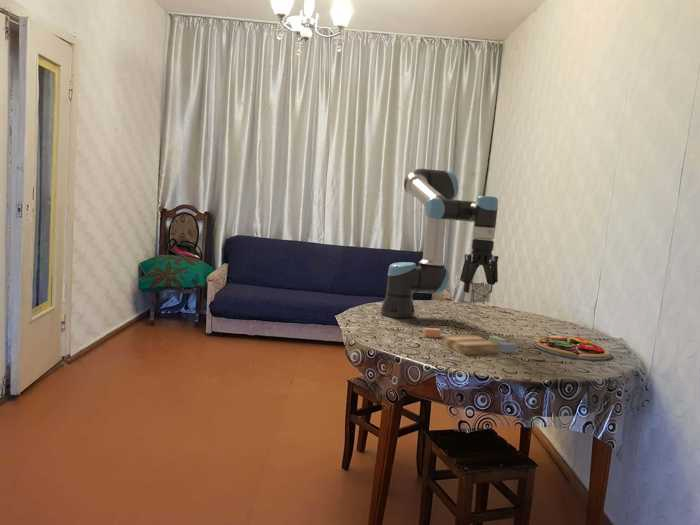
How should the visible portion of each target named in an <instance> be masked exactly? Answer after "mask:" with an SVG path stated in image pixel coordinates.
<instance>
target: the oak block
mask: <svg viewBox="0 0 700 525" xmlns="http://www.w3.org/2000/svg"><path fill="white" fill-rule="evenodd" d="M440 342H441V345H442V344H443V345H442V346H445V347H447V348H449V349H451V350H453V349H454V350H453V351H455V350H456V352H458V353H460V354H462V353H463V354H462V355H464V354H468V355H485V354H486V355H487V354H488V355H490V354H498V345H497V344H495V343H492V342H490V341H488V340H487V339H485V338H482V337H480V336H478V335H475V334H465V335H461V334H459V335H458V334H457V335H456V334H455V335H452V334H451V335H441V341H440Z"/></svg>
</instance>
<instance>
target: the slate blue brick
mask: <svg viewBox="0 0 700 525" xmlns="http://www.w3.org/2000/svg"><path fill="white" fill-rule="evenodd" d="M517 348H518V344H517V343H515V342H508V341H506V342H505V343H498V350H497V352H500V353H517V350H518V349H517Z"/></svg>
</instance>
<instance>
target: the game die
mask: <svg viewBox="0 0 700 525" xmlns="http://www.w3.org/2000/svg"><path fill="white" fill-rule="evenodd" d="M470 284H472V292H471V302H470V303H472V304H474V303H483V305H485V304H486V303H485V299H486V297H487V295H488V294H489V292H490V294H491V293H492V292H491V291H488V290H487V288H486V287H485V283H484V282H483V281H482V282H479V283H478V282H473V280H472V281H471V283H470ZM463 294H464V295H465V292H463Z"/></svg>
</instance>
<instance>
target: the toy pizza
mask: <svg viewBox="0 0 700 525" xmlns="http://www.w3.org/2000/svg"><path fill="white" fill-rule="evenodd" d="M532 345H533V346H534V347H535V346H536V347H535V348H537V349H538V348H539V350H540V349H541V350H540V351H542V350H543V351H542V352H545V351H546V352H545V353H548V352H549V353H548V354H551V353H552V355H554V354H556V356H558V355H560V356H559V357H563V356H564V358H568V357H569V359H574V358H575V360H583V361H605V360H609V359H610V358H612V356H613V354H612V353H611V352H610V351H608V350H607V349H606V348H604V347H601V346H599V345H597V344H594V342H592V341H591V340H589V339H586V338H582V337H577V336H574V337H570V338H569V339H568V337H567V336H562V335H550V336H545V337H541V338H540V337H539V338H537V339H535V340H533V342H532Z"/></svg>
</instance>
